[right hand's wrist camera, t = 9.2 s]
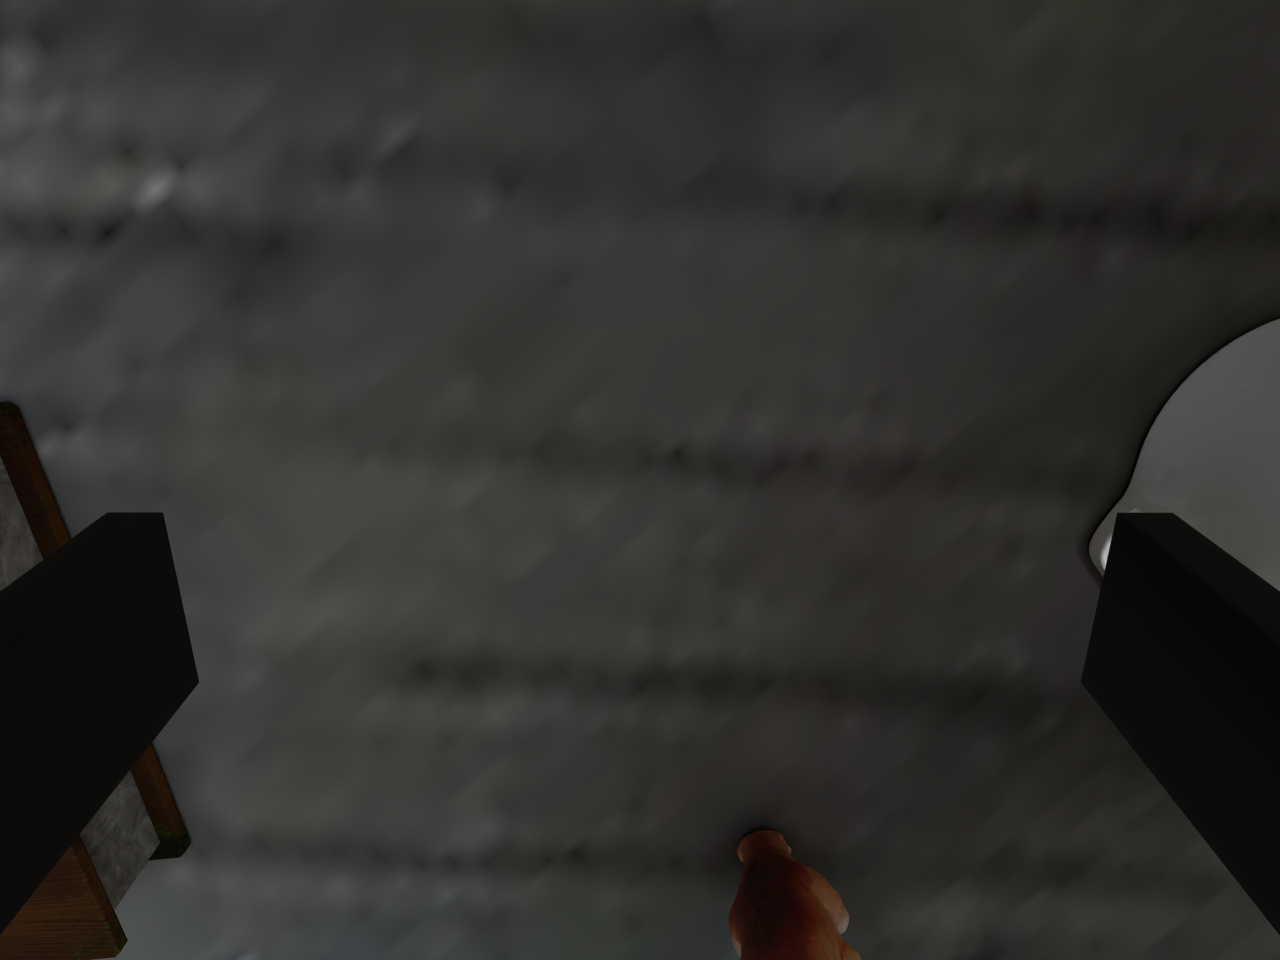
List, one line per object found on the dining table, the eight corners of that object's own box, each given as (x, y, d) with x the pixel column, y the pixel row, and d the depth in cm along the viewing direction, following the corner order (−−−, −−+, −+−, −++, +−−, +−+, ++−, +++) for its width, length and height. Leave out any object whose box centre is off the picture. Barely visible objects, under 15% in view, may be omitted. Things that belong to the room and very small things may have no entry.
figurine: (772, 907, 49) (823, 1215, 35) (689, 820, 47) (708, 1111, 33) (867, 854, 48) (959, 1152, 34) (786, 761, 46) (849, 1039, 32)
